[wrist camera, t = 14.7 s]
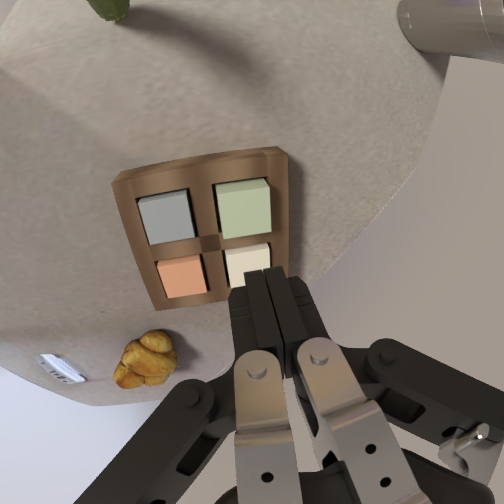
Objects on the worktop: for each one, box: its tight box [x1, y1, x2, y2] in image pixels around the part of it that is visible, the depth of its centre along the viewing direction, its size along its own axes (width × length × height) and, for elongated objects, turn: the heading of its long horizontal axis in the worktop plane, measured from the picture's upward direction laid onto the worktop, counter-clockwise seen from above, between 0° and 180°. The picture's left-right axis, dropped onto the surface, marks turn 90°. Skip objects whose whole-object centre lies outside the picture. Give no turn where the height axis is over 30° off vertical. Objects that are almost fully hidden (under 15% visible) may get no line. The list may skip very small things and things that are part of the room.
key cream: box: [225, 243, 270, 288], centre depth 34 cm, size 5×5×3 cm
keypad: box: [111, 146, 289, 311], centre depth 32 cm, size 18×18×4 cm
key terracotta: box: [157, 254, 207, 298], centre depth 33 cm, size 5×5×3 cm
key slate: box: [138, 188, 195, 245], centre depth 28 cm, size 5×5×3 cm
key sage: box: [215, 177, 271, 239], centre depth 28 cm, size 5×5×3 cm
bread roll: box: [114, 330, 178, 389], centre depth 41 cm, size 13×10×8 cm
